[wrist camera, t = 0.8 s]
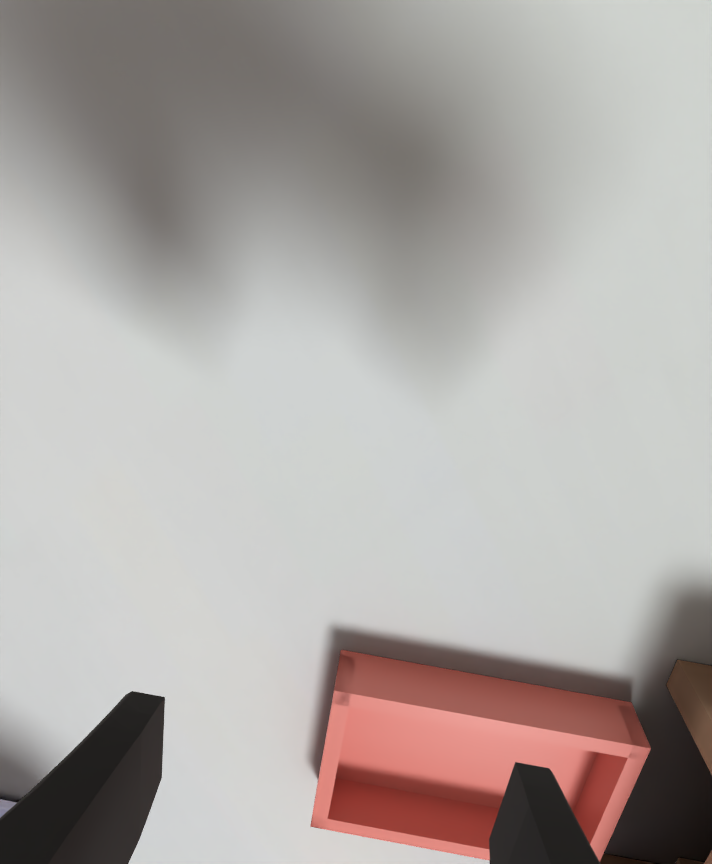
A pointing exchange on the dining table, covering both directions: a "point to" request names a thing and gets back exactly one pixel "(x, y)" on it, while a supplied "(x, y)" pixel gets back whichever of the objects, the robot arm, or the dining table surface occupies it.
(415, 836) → the tray
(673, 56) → the dining table surface
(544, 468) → the dining table surface
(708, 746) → the shelf
